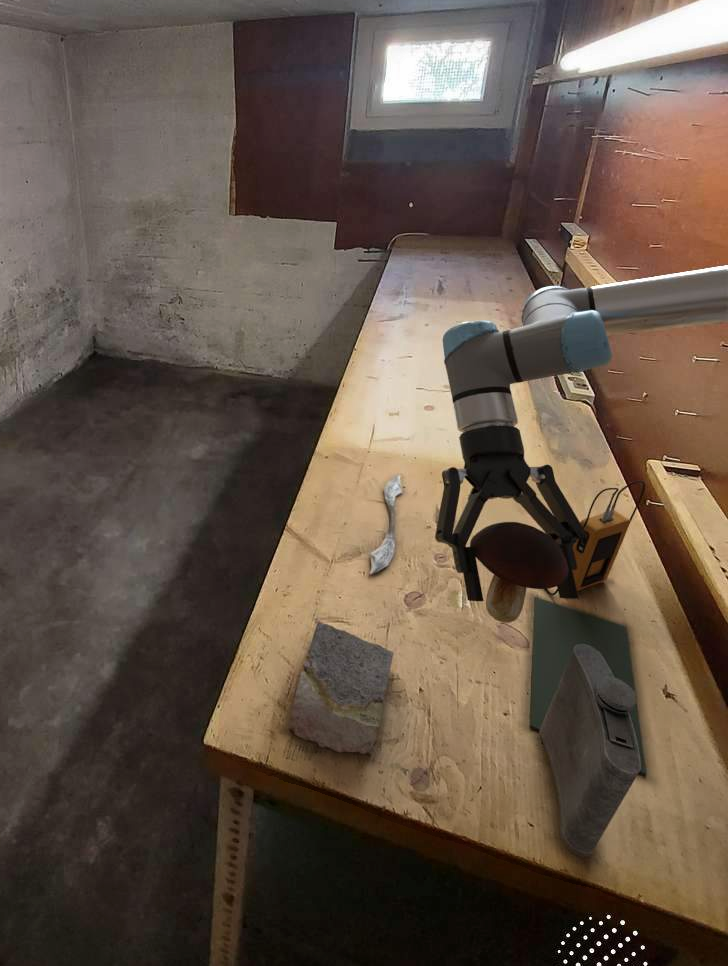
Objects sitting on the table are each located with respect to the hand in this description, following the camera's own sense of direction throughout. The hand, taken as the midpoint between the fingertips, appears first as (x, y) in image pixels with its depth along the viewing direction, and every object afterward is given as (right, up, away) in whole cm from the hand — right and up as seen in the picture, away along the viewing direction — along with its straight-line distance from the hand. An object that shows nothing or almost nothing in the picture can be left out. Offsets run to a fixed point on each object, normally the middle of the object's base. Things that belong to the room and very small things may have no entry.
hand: (522, 599), depth 70 cm
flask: (+2, -20, -5) cm, 21 cm away
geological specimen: (-21, -16, +6) cm, 27 cm away
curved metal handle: (-3, +1, +38) cm, 38 cm away
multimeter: (+22, -4, +26) cm, 34 cm away
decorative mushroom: (0, -5, +5) cm, 7 cm away
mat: (+13, -13, +8) cm, 20 cm away
